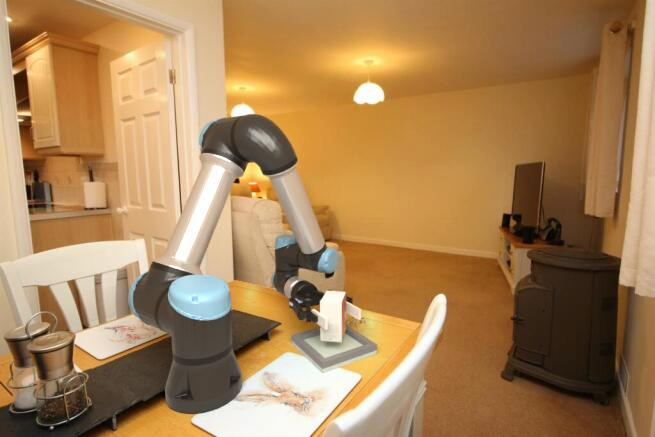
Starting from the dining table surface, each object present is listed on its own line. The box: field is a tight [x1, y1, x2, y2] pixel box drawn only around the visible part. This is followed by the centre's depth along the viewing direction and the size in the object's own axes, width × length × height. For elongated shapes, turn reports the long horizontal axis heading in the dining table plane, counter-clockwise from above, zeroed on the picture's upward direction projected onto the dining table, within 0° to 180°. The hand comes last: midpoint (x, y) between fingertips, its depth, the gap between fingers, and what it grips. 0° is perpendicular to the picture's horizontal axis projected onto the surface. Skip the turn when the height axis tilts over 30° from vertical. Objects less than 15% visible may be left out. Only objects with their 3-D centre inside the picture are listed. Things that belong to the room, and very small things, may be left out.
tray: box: [291, 325, 378, 374], centre depth 89 cm, size 16×16×2 cm
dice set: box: [346, 316, 366, 329], centre depth 103 cm, size 5×5×2 cm
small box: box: [319, 290, 347, 342], centre depth 88 cm, size 8×6×10 cm
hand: (343, 319), depth 84 cm, fingers closed on small box, 9 cm apart
